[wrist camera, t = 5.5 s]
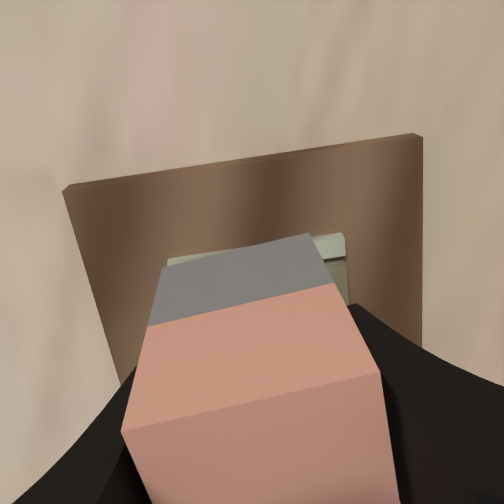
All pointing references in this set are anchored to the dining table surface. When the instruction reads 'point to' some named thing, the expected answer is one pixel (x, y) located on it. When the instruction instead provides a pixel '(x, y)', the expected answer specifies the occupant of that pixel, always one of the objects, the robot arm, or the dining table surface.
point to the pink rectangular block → (257, 386)
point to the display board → (258, 228)
